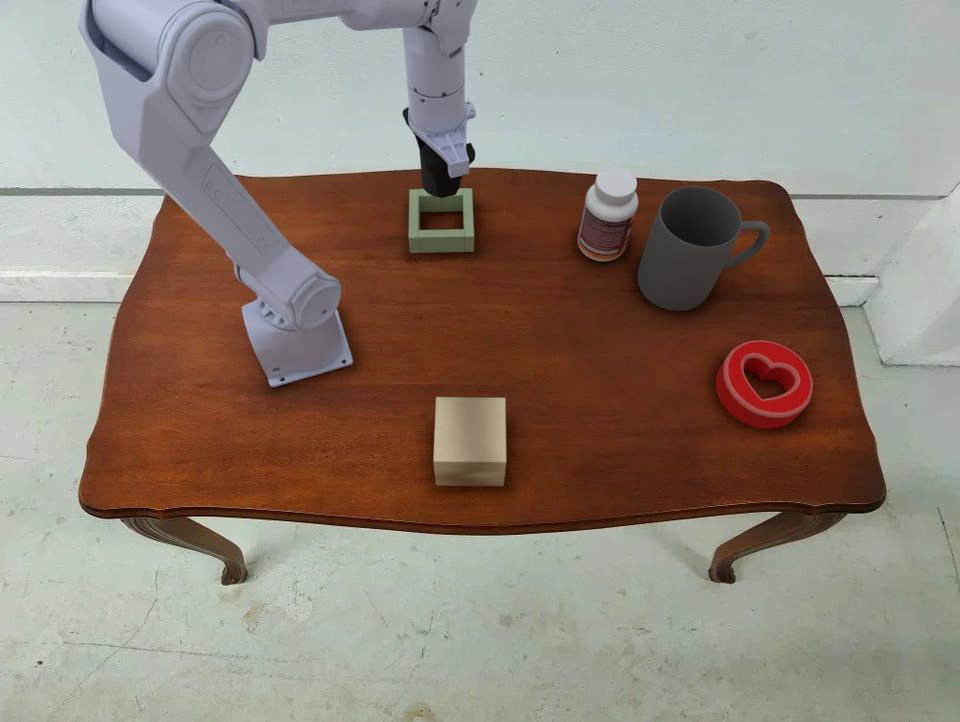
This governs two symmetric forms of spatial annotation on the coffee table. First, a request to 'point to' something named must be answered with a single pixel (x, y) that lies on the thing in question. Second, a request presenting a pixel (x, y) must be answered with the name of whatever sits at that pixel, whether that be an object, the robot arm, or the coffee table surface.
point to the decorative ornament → (767, 365)
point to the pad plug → (428, 177)
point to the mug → (693, 247)
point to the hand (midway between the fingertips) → (440, 179)
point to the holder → (441, 238)
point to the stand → (470, 441)
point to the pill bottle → (608, 214)
